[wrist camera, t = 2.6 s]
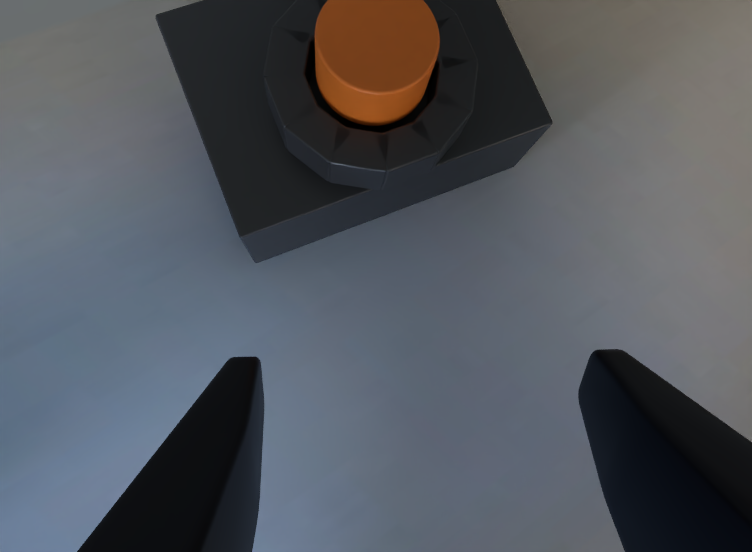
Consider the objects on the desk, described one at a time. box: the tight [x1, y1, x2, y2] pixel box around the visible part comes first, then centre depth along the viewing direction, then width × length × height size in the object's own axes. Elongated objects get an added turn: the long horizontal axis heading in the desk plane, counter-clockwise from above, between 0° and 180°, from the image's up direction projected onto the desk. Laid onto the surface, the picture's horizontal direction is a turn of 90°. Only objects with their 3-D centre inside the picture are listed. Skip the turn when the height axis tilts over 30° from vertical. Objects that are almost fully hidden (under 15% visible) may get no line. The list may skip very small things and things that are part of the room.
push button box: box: [156, 0, 552, 263], centre depth 21 cm, size 11×8×6 cm
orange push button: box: [315, 0, 440, 126], centre depth 17 cm, size 3×3×2 cm
